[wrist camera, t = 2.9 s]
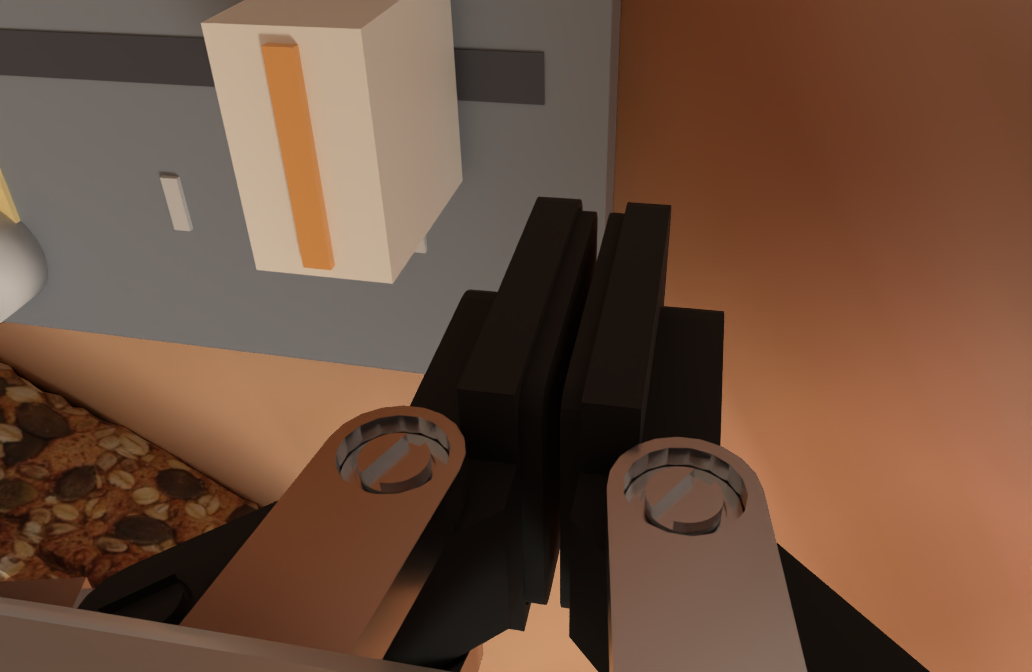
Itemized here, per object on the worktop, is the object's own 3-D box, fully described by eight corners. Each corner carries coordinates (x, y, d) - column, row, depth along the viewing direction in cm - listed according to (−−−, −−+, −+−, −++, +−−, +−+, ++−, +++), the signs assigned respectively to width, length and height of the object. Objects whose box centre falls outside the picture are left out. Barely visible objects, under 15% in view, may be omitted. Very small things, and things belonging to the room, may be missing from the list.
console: (633, -301, 17) (609, -305, 14) (607, 364, 26) (590, 431, 24) (-325, -261, 22) (-465, -259, 19) (-67, 286, 31) (-140, 335, 28)
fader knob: (447, -36, 19) (356, 32, 15) (462, 180, 22) (389, 288, 17) (318, -39, 19) (194, 26, 15) (349, 172, 22) (251, 274, 18)
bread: (410, 576, 34) (301, 835, 26) (311, 686, 41) (199, 921, 33) (-26, 322, 32) (-293, 521, 24) (-59, 480, 38) (-278, 679, 30)
